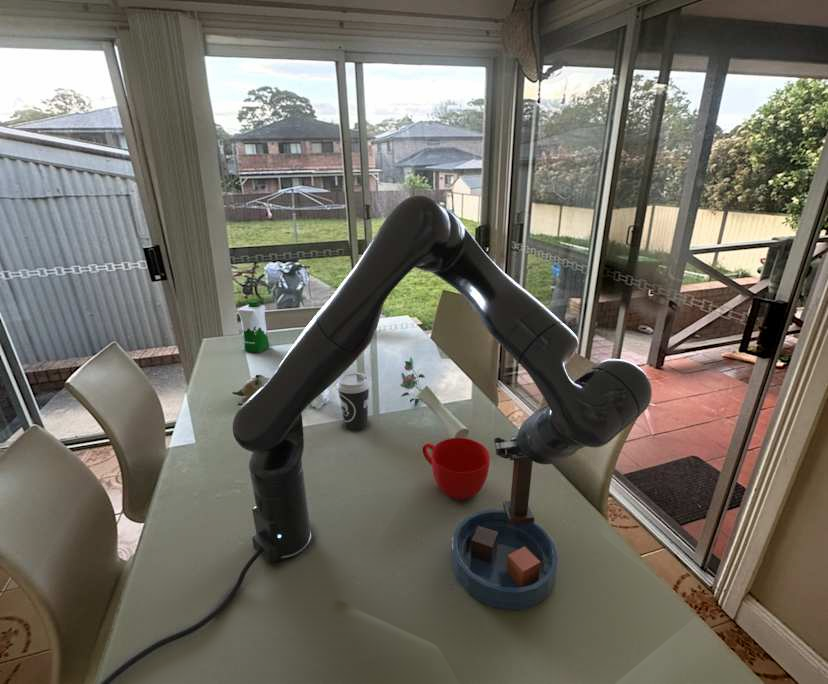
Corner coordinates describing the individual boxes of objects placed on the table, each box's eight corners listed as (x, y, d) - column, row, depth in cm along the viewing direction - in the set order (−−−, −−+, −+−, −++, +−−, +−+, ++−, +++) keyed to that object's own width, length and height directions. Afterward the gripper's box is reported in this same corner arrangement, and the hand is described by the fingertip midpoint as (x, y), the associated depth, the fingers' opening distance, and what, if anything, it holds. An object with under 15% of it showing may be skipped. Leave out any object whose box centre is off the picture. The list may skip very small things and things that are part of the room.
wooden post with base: (534, 522, 80) (542, 448, 74) (509, 524, 79) (516, 449, 73) (526, 505, 84) (533, 433, 78) (502, 506, 83) (508, 434, 78)
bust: (326, 416, 136) (345, 386, 136) (305, 408, 132) (325, 376, 132) (315, 400, 146) (333, 371, 146) (296, 391, 142) (314, 362, 142)
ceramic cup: (439, 459, 112) (439, 426, 108) (498, 487, 102) (500, 451, 98) (406, 486, 103) (405, 450, 99) (467, 520, 93) (469, 481, 89)
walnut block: (491, 563, 81) (492, 547, 80) (470, 556, 83) (471, 540, 81) (497, 548, 85) (498, 532, 83) (477, 541, 86) (478, 525, 85)
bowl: (524, 636, 69) (527, 613, 68) (432, 572, 81) (432, 551, 79) (570, 561, 83) (574, 540, 81) (485, 515, 94) (486, 496, 92)
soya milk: (272, 346, 185) (266, 300, 178) (259, 354, 177) (252, 306, 170) (254, 343, 188) (247, 298, 180) (241, 351, 180) (233, 304, 172)
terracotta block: (521, 588, 76) (523, 571, 75) (506, 571, 80) (507, 555, 78) (538, 578, 78) (540, 561, 77) (522, 562, 82) (524, 546, 80)
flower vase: (446, 465, 122) (388, 391, 146) (482, 443, 125) (420, 374, 150) (440, 439, 114) (381, 366, 139) (479, 416, 118) (414, 348, 142)
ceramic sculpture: (283, 375, 139) (233, 389, 132) (287, 398, 142) (239, 413, 135) (274, 363, 147) (227, 376, 141) (279, 386, 151) (233, 399, 144)
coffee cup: (366, 436, 122) (364, 388, 117) (334, 432, 124) (330, 384, 118) (376, 418, 131) (374, 372, 125) (345, 415, 133) (342, 370, 127)
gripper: (592, 405, 65) (552, 431, 81) (500, 410, 64) (478, 435, 80) (604, 457, 62) (561, 473, 78) (508, 463, 61) (483, 478, 77)
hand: (519, 453), depth 79 cm, fingers closed on wooden post with base, 2 cm apart
